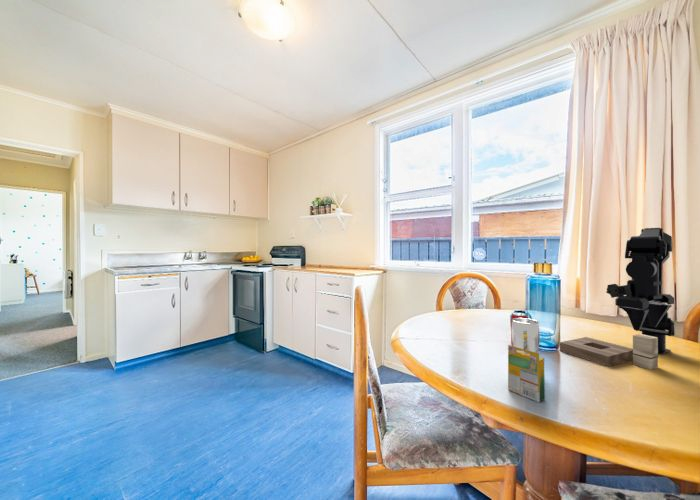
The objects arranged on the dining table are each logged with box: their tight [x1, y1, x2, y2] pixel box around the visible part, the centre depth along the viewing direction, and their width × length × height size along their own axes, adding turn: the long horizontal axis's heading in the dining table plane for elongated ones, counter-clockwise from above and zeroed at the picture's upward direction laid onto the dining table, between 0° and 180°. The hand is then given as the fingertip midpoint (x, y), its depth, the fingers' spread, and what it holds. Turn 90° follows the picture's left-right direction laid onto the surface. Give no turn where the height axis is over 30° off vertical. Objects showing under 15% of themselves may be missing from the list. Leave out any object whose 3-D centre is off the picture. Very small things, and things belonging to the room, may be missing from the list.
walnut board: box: [559, 336, 633, 367], centre depth 94 cm, size 15×14×3 cm
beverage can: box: [510, 312, 529, 346], centre depth 102 cm, size 5×5×12 cm
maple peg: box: [632, 333, 659, 370], centre depth 85 cm, size 4×4×9 cm
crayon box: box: [507, 344, 546, 403], centre depth 69 cm, size 7×3×12 cm, turn 33°
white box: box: [512, 318, 541, 355], centre depth 82 cm, size 7×7×15 cm
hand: (645, 328), depth 85 cm, fingers open, 9 cm apart
